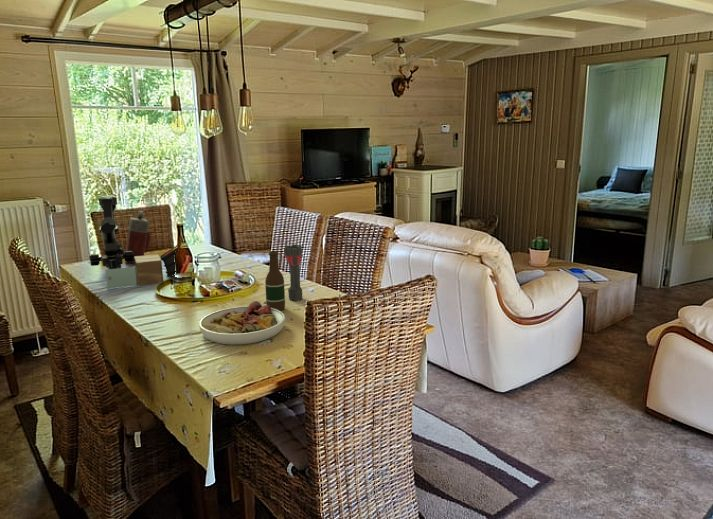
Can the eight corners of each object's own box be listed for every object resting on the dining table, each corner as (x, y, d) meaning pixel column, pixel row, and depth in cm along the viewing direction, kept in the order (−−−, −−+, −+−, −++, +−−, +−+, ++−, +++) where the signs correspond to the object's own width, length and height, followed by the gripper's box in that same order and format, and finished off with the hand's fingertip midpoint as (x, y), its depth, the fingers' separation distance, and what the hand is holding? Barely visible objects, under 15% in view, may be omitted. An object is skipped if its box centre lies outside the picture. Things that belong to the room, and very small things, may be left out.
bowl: (269, 350, 177) (268, 328, 175) (184, 345, 182) (182, 323, 181) (295, 320, 206) (294, 300, 204) (221, 316, 211) (220, 297, 209)
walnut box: (136, 278, 268) (134, 256, 265) (159, 275, 272) (157, 254, 270) (139, 285, 255) (136, 262, 252) (163, 282, 259) (161, 260, 257)
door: (107, 290, 247) (105, 270, 245) (107, 289, 249) (105, 269, 247) (138, 285, 253) (136, 266, 251) (138, 284, 255) (136, 265, 253)
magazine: (195, 269, 277) (181, 245, 270) (174, 284, 271) (158, 260, 264) (192, 267, 280) (178, 244, 273) (171, 282, 274) (155, 258, 267)
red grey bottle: (147, 263, 301) (154, 213, 298) (125, 261, 295) (133, 210, 292) (145, 260, 309) (152, 211, 305) (124, 257, 303) (131, 208, 300)
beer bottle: (289, 307, 220) (286, 250, 214) (280, 313, 213) (277, 254, 207) (272, 305, 222) (269, 248, 217) (262, 311, 215) (259, 253, 210)
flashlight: (293, 294, 237) (291, 243, 232) (307, 297, 234) (305, 245, 228) (282, 299, 231) (279, 246, 226) (297, 301, 227) (294, 248, 222)
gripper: (87, 237, 246) (90, 266, 239) (131, 234, 254) (135, 261, 247) (89, 251, 255) (92, 279, 248) (131, 247, 263) (135, 274, 256)
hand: (114, 273), depth 250 cm, fingers closed
